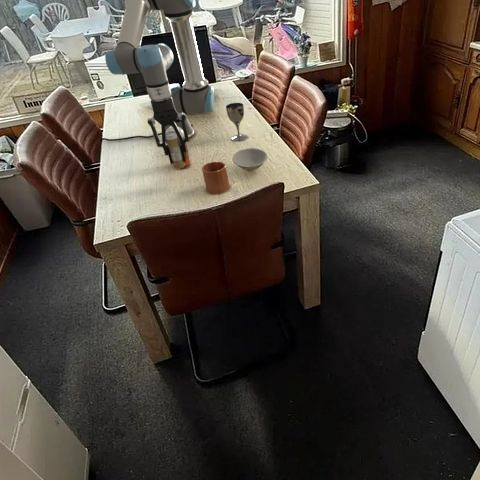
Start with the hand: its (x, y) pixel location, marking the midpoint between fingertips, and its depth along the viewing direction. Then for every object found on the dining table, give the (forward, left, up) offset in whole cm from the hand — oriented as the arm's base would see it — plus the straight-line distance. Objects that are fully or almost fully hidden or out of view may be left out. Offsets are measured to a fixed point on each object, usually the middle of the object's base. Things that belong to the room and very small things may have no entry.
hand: (178, 161), depth 148 cm
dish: (+24, +15, -10) cm, 30 cm away
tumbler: (+15, -2, -10) cm, 18 cm away
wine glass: (+10, +46, -10) cm, 48 cm away
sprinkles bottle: (0, 0, -2) cm, 2 cm away
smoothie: (-7, +16, -10) cm, 20 cm away
